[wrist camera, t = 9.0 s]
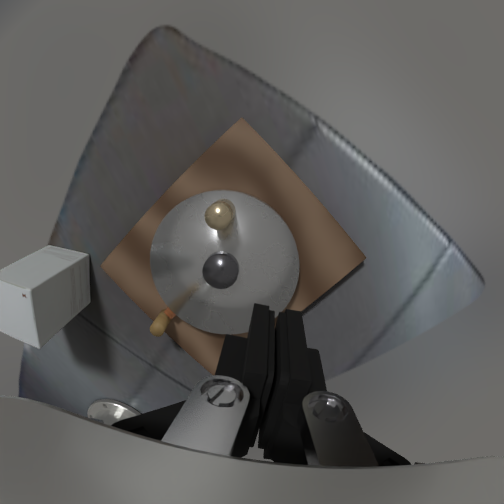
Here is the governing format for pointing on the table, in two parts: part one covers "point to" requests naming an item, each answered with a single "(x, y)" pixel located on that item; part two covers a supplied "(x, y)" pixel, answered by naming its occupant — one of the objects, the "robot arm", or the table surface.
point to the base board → (258, 185)
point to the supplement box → (43, 293)
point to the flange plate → (223, 260)
